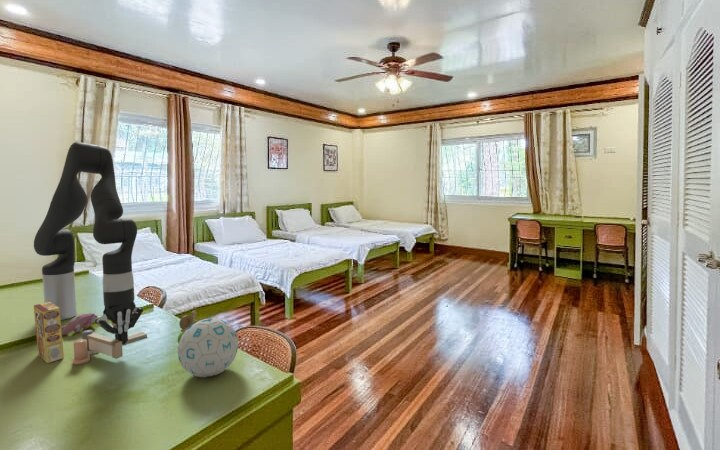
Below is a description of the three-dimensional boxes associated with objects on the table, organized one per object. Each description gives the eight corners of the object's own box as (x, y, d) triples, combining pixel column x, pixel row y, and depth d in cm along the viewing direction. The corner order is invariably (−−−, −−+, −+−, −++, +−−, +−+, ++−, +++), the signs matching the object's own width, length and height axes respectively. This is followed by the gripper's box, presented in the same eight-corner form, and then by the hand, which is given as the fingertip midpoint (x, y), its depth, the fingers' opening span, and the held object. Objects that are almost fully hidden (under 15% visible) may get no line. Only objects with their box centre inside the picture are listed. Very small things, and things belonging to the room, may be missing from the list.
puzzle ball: (248, 364, 106) (248, 313, 104) (217, 392, 91) (216, 333, 90) (202, 357, 109) (201, 308, 108) (165, 383, 94) (162, 327, 93)
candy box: (64, 358, 107) (61, 307, 105) (46, 364, 103) (42, 311, 102) (54, 350, 112) (51, 301, 110) (36, 355, 108) (32, 304, 107)
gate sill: (78, 352, 110) (77, 349, 110) (141, 333, 125) (141, 331, 125) (83, 356, 108) (83, 353, 108) (147, 336, 123) (146, 333, 123)
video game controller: (68, 340, 122) (75, 323, 121) (58, 333, 123) (65, 316, 122) (95, 329, 132) (101, 313, 131) (85, 323, 133) (91, 307, 131)
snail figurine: (203, 343, 118) (202, 307, 117) (187, 352, 112) (186, 314, 111) (189, 341, 120) (188, 305, 119) (173, 349, 114) (172, 311, 113)
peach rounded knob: (70, 362, 105) (69, 341, 104) (86, 356, 108) (85, 337, 107) (75, 366, 102) (74, 345, 102) (92, 360, 106) (91, 340, 105)
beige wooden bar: (80, 349, 110) (79, 332, 110) (90, 345, 112) (89, 329, 112) (114, 360, 104) (114, 342, 103) (124, 356, 106) (123, 339, 106)
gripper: (133, 280, 114) (136, 333, 116) (86, 290, 103) (89, 350, 105) (148, 283, 111) (151, 338, 113) (101, 294, 99) (105, 356, 101)
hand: (121, 344), depth 109 cm, fingers closed
